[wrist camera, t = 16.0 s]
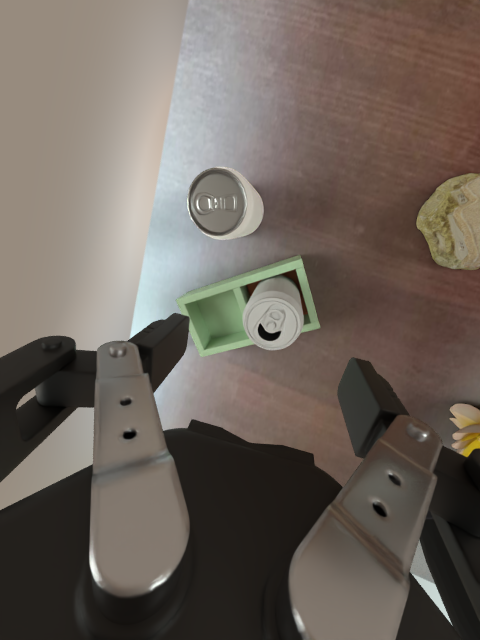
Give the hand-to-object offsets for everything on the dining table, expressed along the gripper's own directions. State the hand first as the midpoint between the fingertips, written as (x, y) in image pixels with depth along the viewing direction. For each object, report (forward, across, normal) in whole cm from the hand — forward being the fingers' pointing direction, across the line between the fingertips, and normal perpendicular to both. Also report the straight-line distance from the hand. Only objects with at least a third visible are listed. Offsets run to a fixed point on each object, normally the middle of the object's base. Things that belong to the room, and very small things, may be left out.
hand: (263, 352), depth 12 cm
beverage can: (+24, -1, +4) cm, 24 cm away
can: (+25, +7, -6) cm, 27 cm away
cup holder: (+25, +3, +6) cm, 26 cm away
